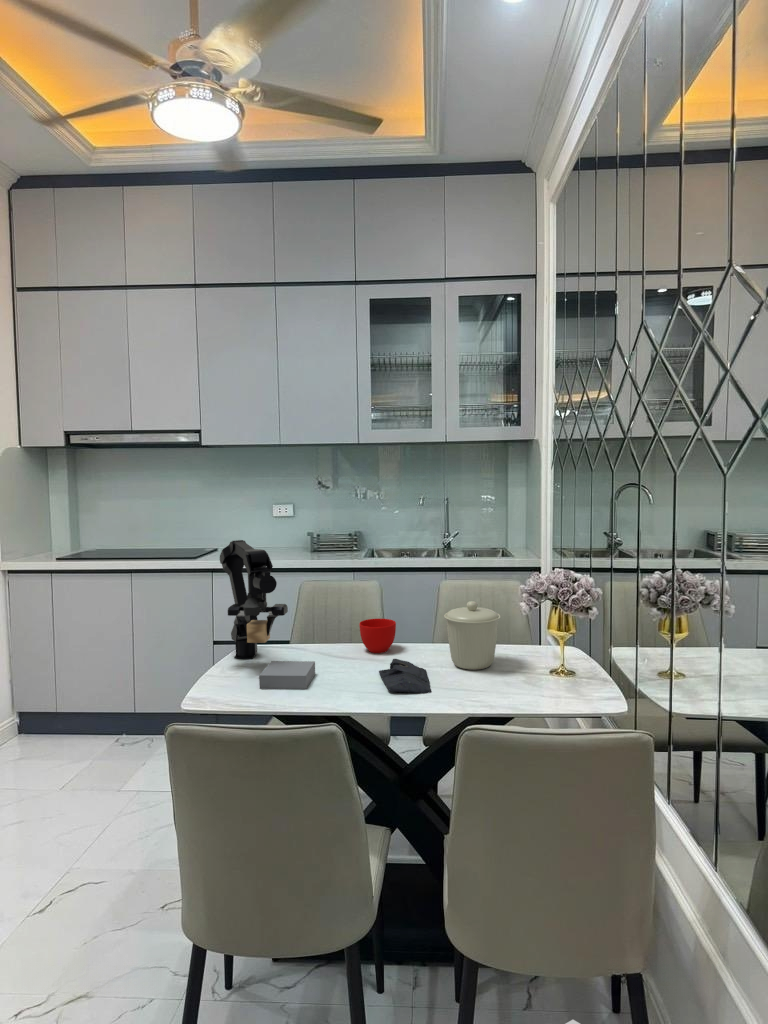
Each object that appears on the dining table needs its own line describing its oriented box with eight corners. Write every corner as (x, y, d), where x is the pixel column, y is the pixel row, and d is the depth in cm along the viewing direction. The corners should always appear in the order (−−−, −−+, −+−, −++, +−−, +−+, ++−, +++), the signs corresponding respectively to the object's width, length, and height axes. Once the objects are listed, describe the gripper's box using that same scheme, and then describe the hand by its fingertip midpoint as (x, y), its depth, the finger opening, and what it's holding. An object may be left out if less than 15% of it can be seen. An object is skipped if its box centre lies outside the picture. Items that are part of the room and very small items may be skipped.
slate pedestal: (259, 688, 186) (259, 675, 185) (271, 673, 199) (271, 661, 199) (306, 689, 184) (305, 675, 184) (315, 673, 198) (314, 661, 198)
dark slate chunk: (380, 697, 178) (380, 680, 178) (378, 672, 200) (378, 657, 200) (434, 695, 179) (433, 679, 178) (426, 671, 201) (426, 656, 200)
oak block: (247, 642, 204) (246, 624, 203) (252, 637, 209) (251, 620, 209) (265, 642, 203) (264, 624, 203) (270, 637, 209) (269, 620, 209)
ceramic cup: (388, 641, 234) (388, 614, 234) (400, 653, 218) (400, 625, 217) (354, 644, 231) (354, 617, 231) (364, 657, 215) (363, 628, 214)
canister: (486, 654, 215) (485, 594, 214) (510, 670, 198) (510, 604, 196) (436, 660, 210) (435, 598, 209) (457, 676, 193) (456, 609, 192)
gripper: (221, 593, 198) (222, 642, 199) (278, 593, 196) (280, 642, 197) (232, 587, 209) (234, 633, 210) (287, 586, 207) (288, 633, 208)
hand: (258, 635), depth 206 cm, fingers closed on oak block, 6 cm apart
